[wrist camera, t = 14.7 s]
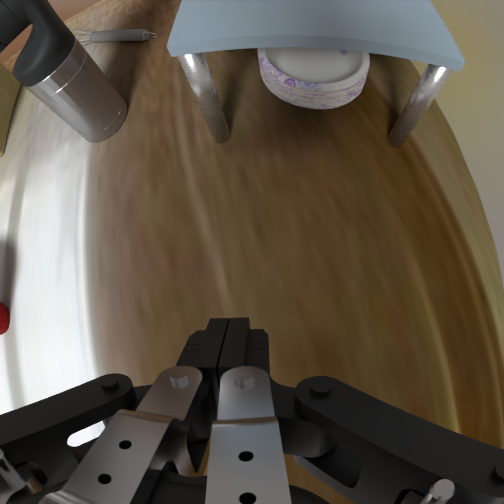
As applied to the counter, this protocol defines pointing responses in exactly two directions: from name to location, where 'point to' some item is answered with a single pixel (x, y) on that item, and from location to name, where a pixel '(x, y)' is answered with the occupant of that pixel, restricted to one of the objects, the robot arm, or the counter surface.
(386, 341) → the counter surface
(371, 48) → the small side table
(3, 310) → the plastic cup
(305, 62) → the paper bowls
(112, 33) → the kitchen whisk
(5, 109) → the beige rectangular block
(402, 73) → the counter surface
